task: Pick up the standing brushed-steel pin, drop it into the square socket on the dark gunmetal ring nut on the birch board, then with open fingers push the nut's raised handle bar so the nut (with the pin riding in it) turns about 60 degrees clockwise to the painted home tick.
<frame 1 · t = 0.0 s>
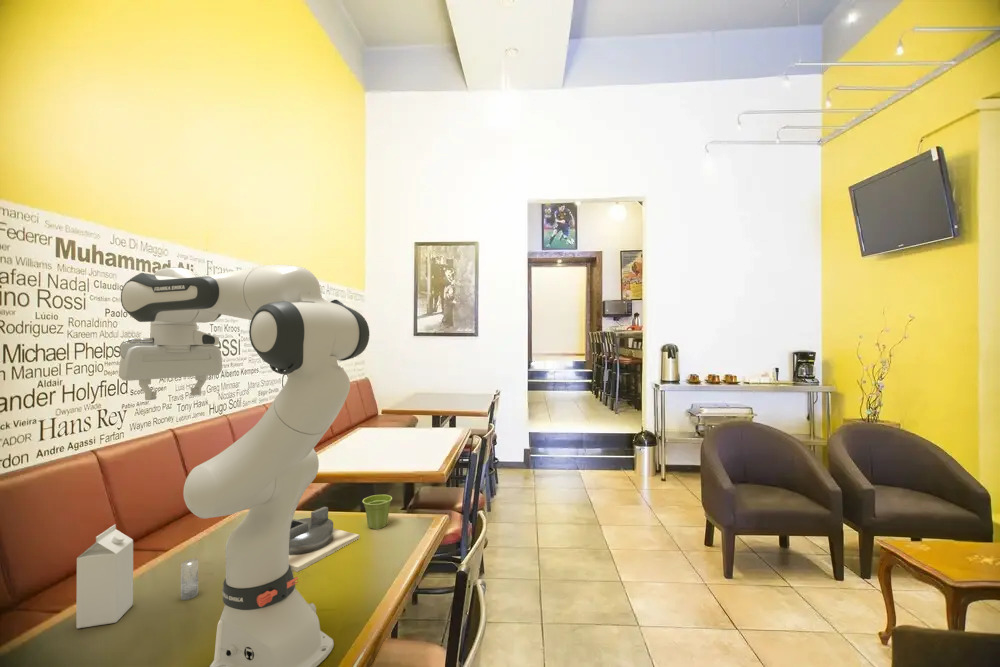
hand: (174, 397, 103), 48 cm above the table, fingers open, 8 cm apart
milk carton: (105, 617, 98), on the table
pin: (189, 595, 106), on the table
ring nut: (304, 528, 132), point 5 cm above the table, hinge at 0.0°
plant pot: (377, 526, 146), on the table
board: (304, 546, 131), on the table
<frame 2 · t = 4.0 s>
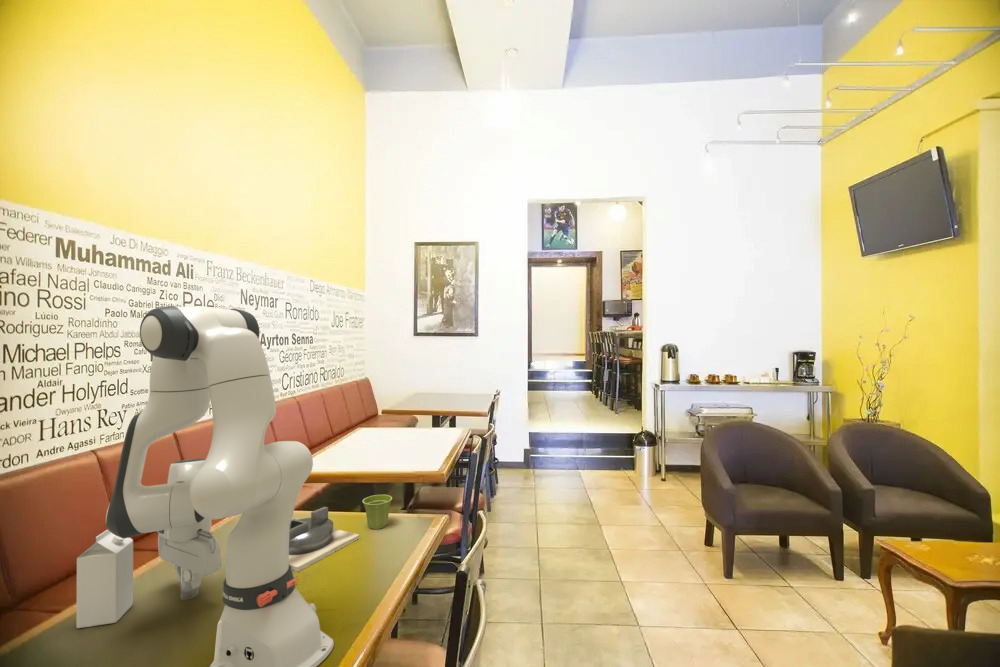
hand: (189, 584, 106), 3 cm above the table, fingers closed on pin, 3 cm apart
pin: (189, 595, 106), on the table, touching gripper
everything else where it was.
when the fingers open (9 cm above the table, at t = 8.9 s): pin drops 2 cm, resting on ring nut.
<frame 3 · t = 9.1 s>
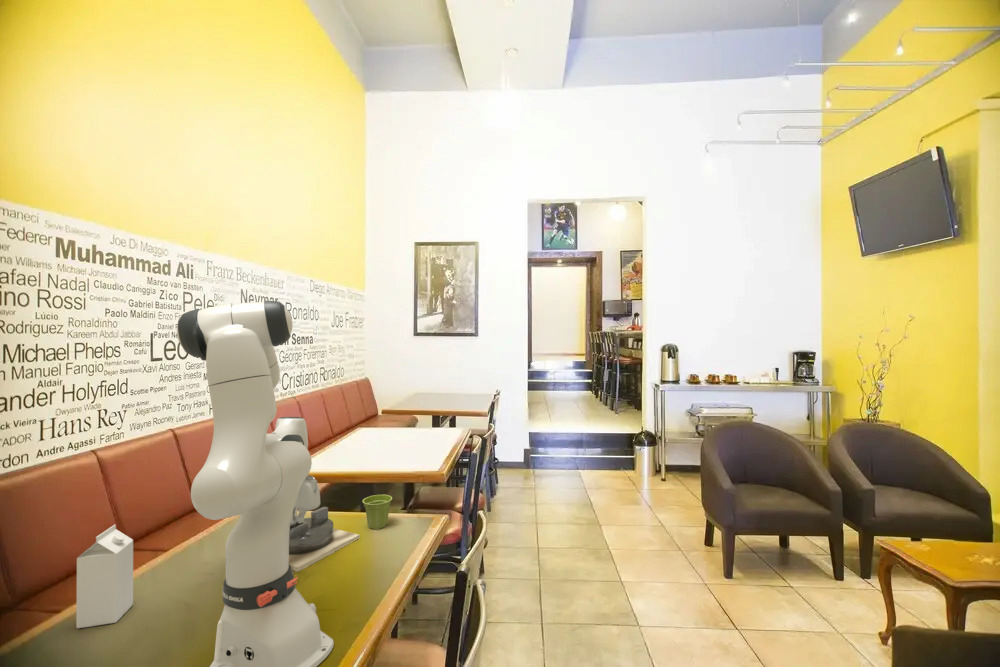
hand: (291, 520, 128), 9 cm above the table, fingers open, 5 cm apart
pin: (291, 534, 127), point 6 cm above the table, touching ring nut
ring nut: (304, 528, 132), point 5 cm above the table, hinge at 0.0°, touching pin
everything else where it was.
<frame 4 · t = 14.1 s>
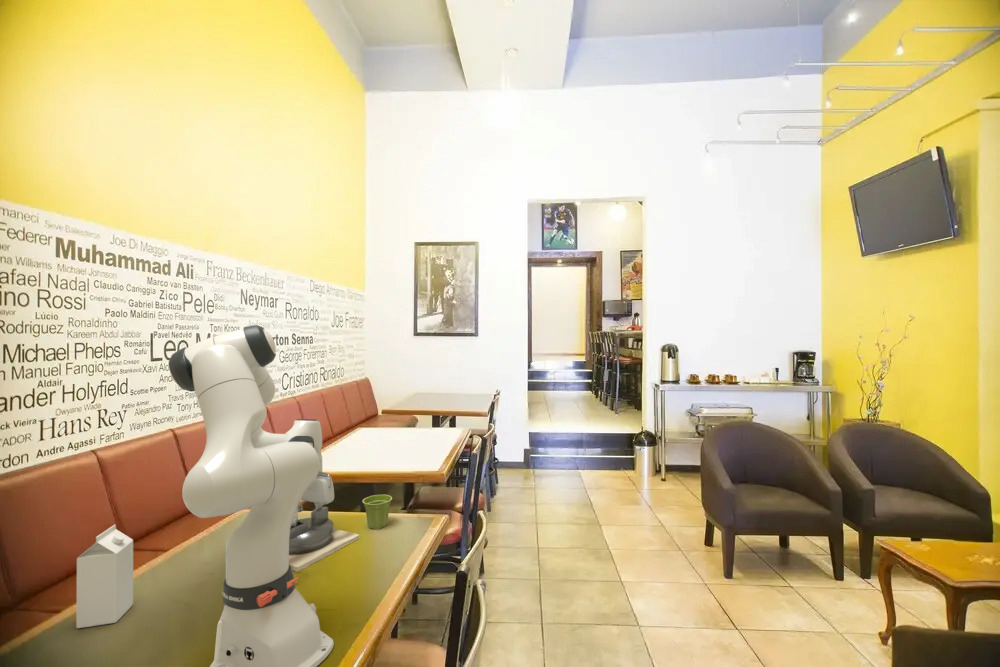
hand: (307, 513, 140), 7 cm above the table, fingers open, 7 cm apart
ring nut: (304, 528, 132), point 5 cm above the table, hinge at 0.0°, touching gripper, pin
everything else where it was.
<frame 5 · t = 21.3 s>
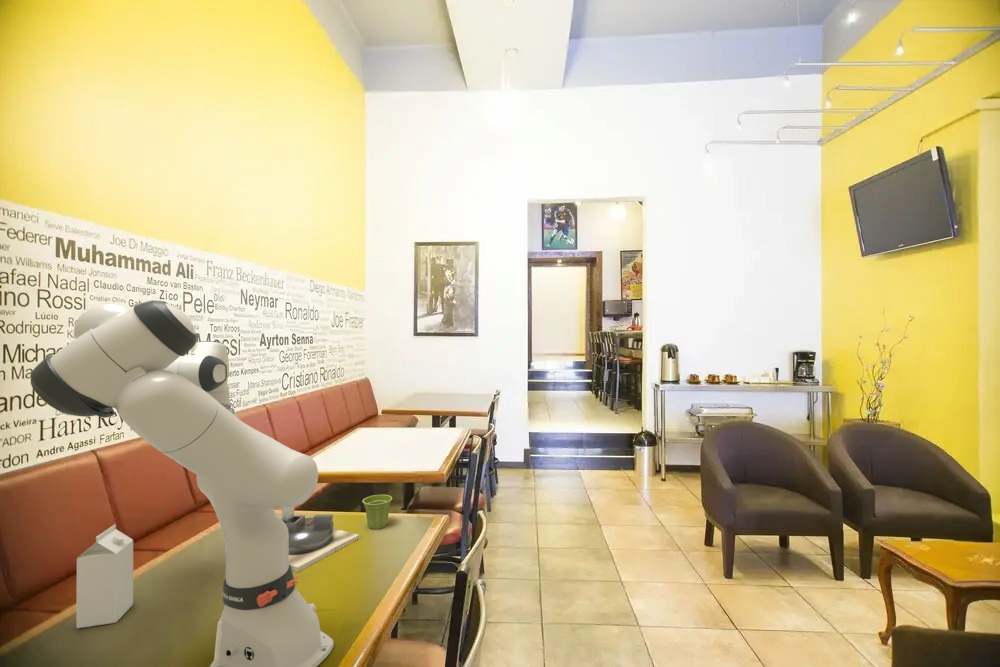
hand: (209, 455, 117), 31 cm above the table, fingers open, 8 cm apart
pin: (288, 528, 131), point 6 cm above the table, touching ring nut
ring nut: (304, 528, 132), point 5 cm above the table, hinge at -62.0°, touching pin
everything else where it was.
at the end: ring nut at -62° (first picture: +0°); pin inside the target area on the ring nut (4.8 cm from its centre), point 5.5 cm above the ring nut's base; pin tilted 0° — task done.
